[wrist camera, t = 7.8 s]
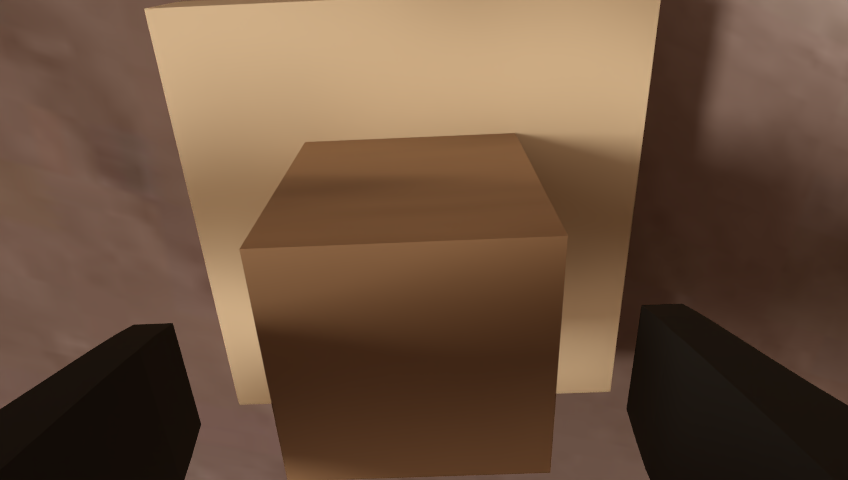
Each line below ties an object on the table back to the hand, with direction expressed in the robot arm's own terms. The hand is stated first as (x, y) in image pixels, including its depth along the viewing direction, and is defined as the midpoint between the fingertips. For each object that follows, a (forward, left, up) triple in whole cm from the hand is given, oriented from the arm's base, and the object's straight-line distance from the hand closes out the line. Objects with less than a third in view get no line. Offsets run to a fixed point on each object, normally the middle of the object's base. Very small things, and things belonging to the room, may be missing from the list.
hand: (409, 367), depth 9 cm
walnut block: (0, 0, -5) cm, 5 cm away
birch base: (0, 0, -7) cm, 7 cm away
